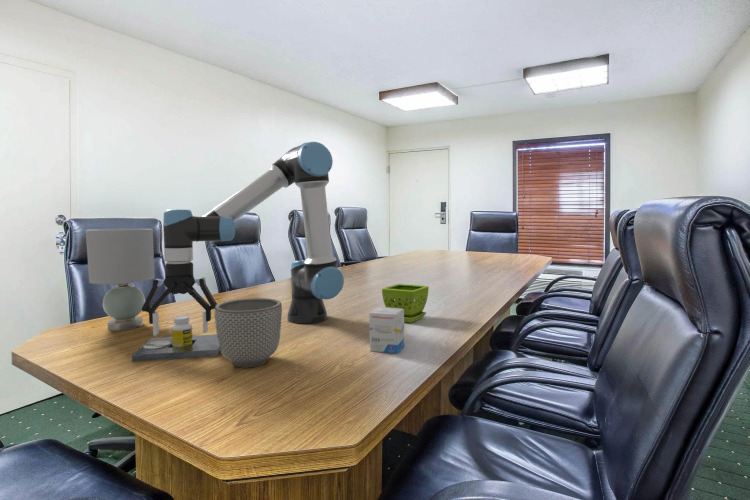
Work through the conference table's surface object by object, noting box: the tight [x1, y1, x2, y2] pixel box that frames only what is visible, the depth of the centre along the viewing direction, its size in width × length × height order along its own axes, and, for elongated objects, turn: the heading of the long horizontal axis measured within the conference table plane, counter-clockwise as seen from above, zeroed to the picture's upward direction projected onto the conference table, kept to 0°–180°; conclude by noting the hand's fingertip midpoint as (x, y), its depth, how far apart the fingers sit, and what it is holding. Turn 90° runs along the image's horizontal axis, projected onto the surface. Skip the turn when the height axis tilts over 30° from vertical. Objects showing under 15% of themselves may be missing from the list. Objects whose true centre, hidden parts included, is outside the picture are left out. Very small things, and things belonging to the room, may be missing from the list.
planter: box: [214, 297, 283, 369], centre depth 108 cm, size 17×17×16 cm
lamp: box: [85, 228, 156, 332], centre depth 144 cm, size 20×20×35 cm
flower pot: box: [381, 283, 430, 323], centre depth 154 cm, size 14×14×13 cm
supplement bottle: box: [171, 315, 193, 348], centre depth 119 cm, size 5×5×10 cm
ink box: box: [368, 306, 405, 355], centre depth 120 cm, size 9×8×12 cm
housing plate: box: [131, 333, 221, 363], centre depth 120 cm, size 22×16×2 cm
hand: (181, 333), depth 119 cm, fingers open, 13 cm apart
